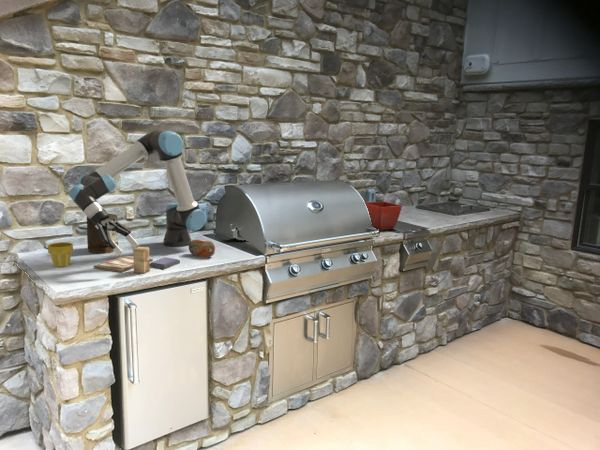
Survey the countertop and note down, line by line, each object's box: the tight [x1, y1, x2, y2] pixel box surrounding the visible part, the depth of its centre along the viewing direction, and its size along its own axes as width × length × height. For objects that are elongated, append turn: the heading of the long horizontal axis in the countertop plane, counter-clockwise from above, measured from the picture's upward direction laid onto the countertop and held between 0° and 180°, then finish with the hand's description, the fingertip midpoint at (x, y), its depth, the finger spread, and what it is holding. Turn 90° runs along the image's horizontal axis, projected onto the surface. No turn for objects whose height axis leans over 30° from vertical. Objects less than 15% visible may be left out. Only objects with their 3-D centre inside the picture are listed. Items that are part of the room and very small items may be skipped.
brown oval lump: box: [188, 239, 216, 259], centre depth 251 cm, size 15×3×8 cm, turn 64°
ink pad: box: [149, 256, 181, 270], centre depth 233 cm, size 12×9×2 cm
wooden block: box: [132, 246, 151, 275], centre depth 220 cm, size 5×5×11 cm
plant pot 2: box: [364, 201, 403, 231], centre depth 336 cm, size 19×19×17 cm
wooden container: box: [86, 208, 119, 255], centre depth 254 cm, size 15×15×22 cm
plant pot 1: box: [47, 241, 74, 268], centre depth 227 cm, size 10×10×10 cm
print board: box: [93, 254, 154, 274], centre depth 232 cm, size 22×16×1 cm
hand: (128, 249), depth 220 cm, fingers open, 13 cm apart
